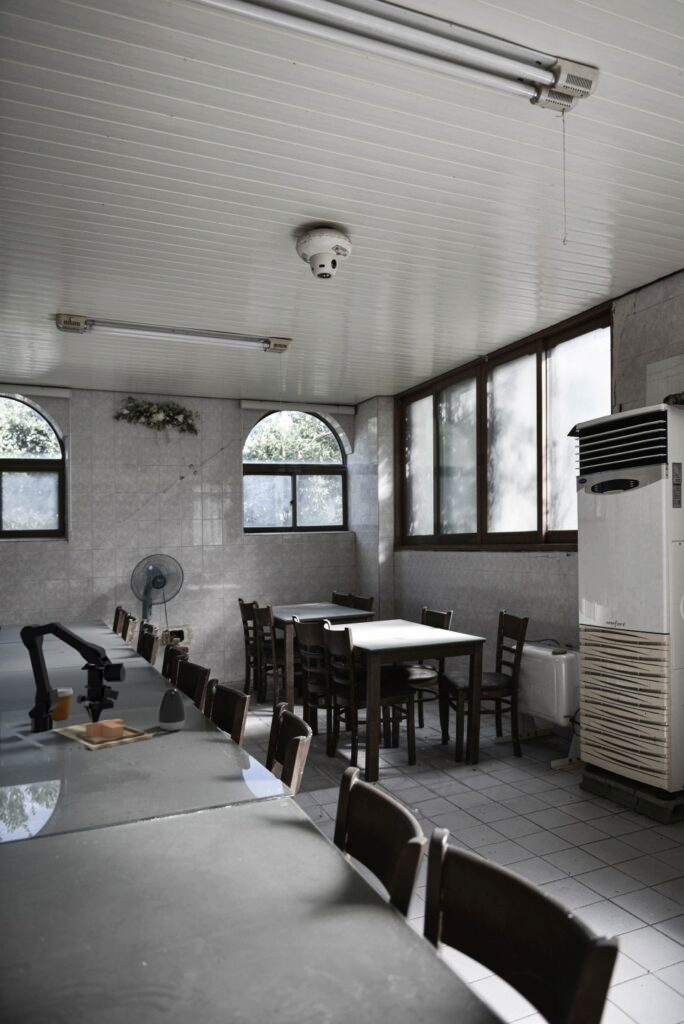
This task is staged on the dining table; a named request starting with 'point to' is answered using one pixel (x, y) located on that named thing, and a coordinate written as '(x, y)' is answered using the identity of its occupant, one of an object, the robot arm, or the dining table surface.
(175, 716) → the grey egg-shaped pod
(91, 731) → the t block
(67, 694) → the disposable coffee cup
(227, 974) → the dining table surface
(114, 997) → the dining table surface
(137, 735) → the board
